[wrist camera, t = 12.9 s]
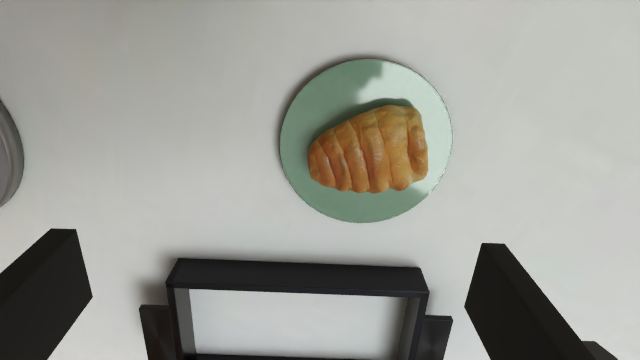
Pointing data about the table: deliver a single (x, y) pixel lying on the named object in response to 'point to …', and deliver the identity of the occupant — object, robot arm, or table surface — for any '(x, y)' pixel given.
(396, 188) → the pastry
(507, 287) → the robot arm
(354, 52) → the table surface
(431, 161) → the plate
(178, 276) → the pan
